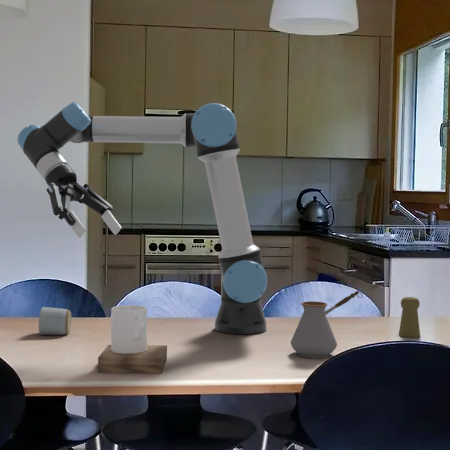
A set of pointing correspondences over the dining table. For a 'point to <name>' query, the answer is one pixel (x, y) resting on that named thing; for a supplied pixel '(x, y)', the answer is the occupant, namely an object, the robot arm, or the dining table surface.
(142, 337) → the mug
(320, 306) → the coffee pot
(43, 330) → the ceramic mug
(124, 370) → the dock
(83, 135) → the robot arm
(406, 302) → the cork
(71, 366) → the dining table surface
